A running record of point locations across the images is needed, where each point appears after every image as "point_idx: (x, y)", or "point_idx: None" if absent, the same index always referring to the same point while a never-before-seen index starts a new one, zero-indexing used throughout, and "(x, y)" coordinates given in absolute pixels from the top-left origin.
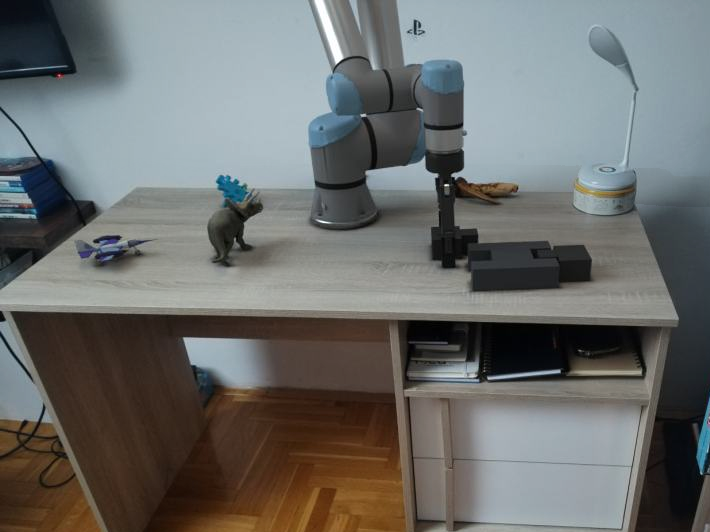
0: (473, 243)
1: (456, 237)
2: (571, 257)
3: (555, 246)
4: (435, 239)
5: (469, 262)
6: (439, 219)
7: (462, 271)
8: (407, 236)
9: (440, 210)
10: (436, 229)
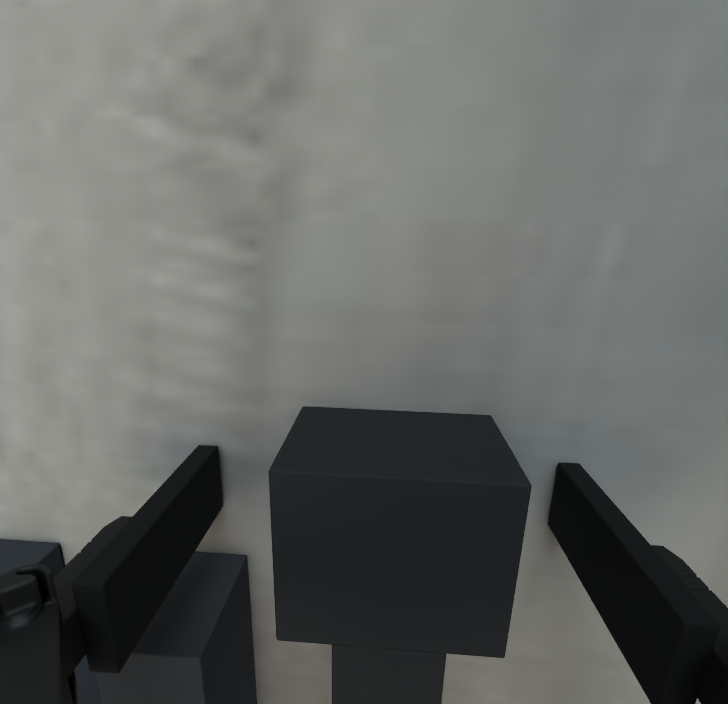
0: (199, 684)
1: (298, 616)
2: None
3: None
4: (270, 494)
5: None
6: (636, 566)
7: None
8: (694, 276)
9: (714, 642)
10: (464, 517)
